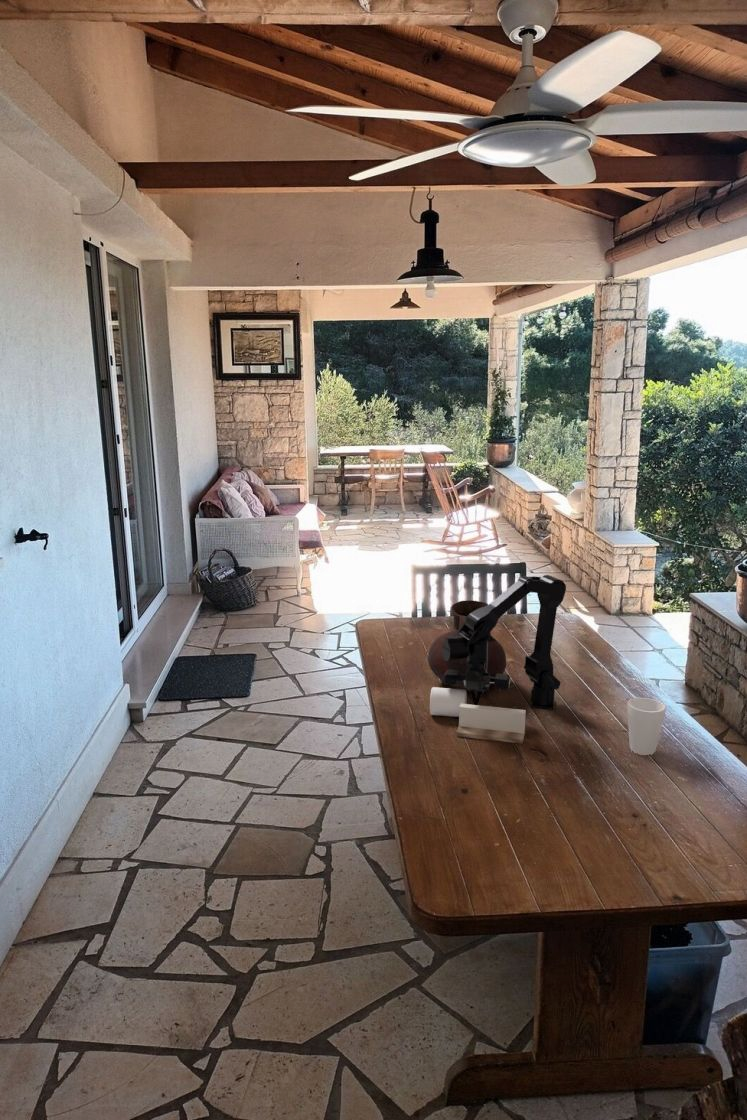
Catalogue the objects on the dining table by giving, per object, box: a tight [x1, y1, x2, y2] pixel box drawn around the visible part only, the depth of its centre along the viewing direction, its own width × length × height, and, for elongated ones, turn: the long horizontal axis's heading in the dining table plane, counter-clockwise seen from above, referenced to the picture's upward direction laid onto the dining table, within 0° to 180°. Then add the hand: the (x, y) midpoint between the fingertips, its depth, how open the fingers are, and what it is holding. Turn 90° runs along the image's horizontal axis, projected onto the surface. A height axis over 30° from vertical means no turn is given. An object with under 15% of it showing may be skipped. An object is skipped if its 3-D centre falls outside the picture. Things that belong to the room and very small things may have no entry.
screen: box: [456, 703, 527, 745], centre depth 215 cm, size 18×6×7 cm, turn 75°
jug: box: [427, 599, 507, 690], centre depth 249 cm, size 25×25×25 cm
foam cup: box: [626, 697, 667, 756], centre depth 205 cm, size 10×9×13 cm
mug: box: [429, 686, 468, 718], centre depth 229 cm, size 12×10×8 cm
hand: (476, 706), depth 227 cm, fingers closed
